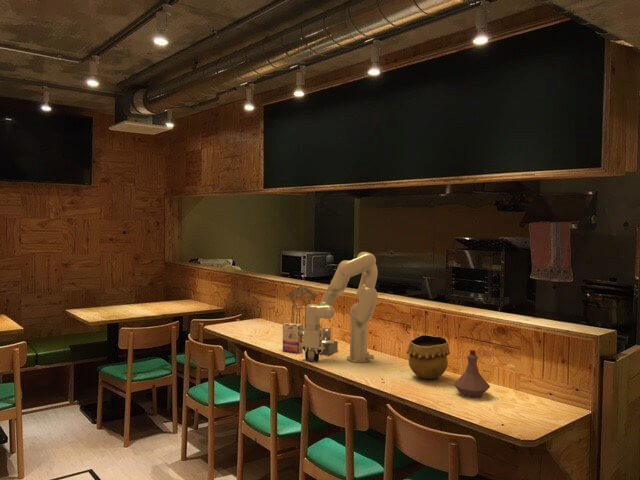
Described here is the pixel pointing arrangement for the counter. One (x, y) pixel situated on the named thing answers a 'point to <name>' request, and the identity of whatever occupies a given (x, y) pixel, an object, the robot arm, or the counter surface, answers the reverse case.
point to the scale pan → (328, 341)
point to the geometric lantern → (302, 300)
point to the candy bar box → (292, 338)
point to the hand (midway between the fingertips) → (312, 359)
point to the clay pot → (428, 356)
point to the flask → (472, 379)
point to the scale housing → (329, 348)
